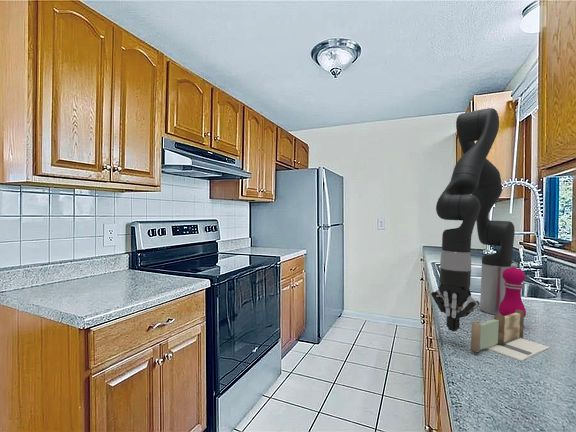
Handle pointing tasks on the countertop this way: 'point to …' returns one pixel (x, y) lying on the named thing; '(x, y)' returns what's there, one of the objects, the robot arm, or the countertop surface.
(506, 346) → the card
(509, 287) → the pepper mill
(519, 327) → the fence fixed
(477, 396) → the countertop surface
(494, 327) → the fence gate
